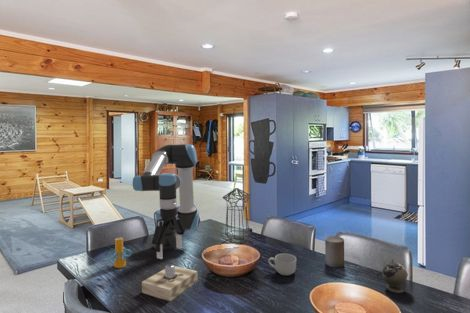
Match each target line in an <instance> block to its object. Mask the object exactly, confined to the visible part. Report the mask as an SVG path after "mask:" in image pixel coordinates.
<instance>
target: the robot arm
mask: <svg viewBox="0 0 470 313" xmlns="http://www.w3.org/2000/svg"><path fill="white" fill-rule="evenodd" d="M197 154H198V153H197V149H196V148H195V145H193V144H188V143H185V144H183V143H182V144H165V145H163V146H161V147H159V148H158V149H156V150H155V151H154V152H153V153H152V155H151V160H150V162H148V165H147V166H146V167H145V169H144V171H143V172H142V174H141V175H139V174H138V175H134V176H133V178H132V189H133V190H134V191H135V192H159V208H160V209H159V210H158V211H157V212H156V214H155V229H154V230H155V231H154V234H153V237H152V239H151V240H152V241H151V244H152V245H153V248H154V250H155V252H156V259H158V260H159V259H160V260H162V259H163V258H164V257H163V252H164V251H165V252H166V251H172V250H175V249H182V248H183V235H185V232H186V231H195V230H196V229H198V226H199V219H200V217H199V216H200V211H198V210H197V207H196V206H195V200H194V199H195V198H194V182H193V179H194V178H193V169H194V168H195V167H196V166H195V165H196V164H197V163H198V156H197ZM166 165H175V169H177V173H172V172H163V173H161V172H162V170H163V168H164V167H165V166H166ZM177 189H178V195H179V207H178V208H177V206H178V205H177V204H178V203H177Z"/></svg>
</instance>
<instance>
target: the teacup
mask: <svg viewBox="0 0 470 313" xmlns="http://www.w3.org/2000/svg"><path fill="white" fill-rule="evenodd" d="M271 261H273V263H274V264H272V262H271ZM267 262H268V264H269V266H270V267H272V268H274V269H275V270H276V272H277V273H279V275H281V276H291V275H293V274H294V273H295V272H296V270H297V257H296V256H295V255H293V254H290V253H278V254H276V255H275V257H272V256H271V257H269V258H268V260H267Z"/></svg>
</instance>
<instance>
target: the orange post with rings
mask: <svg viewBox="0 0 470 313" xmlns="http://www.w3.org/2000/svg"><path fill="white" fill-rule="evenodd" d="M114 245H115V247H114V251H112V250H111V251H109V252H107V255H106V256H107V258H108V259H109V260H113V267H114V268H115V269H119V268H120V269H121V268H124V267H125V266H126V265H127V260H126V258H129V257H130V256H132V250H131V249H128V248H126V247H125V246H124V238H123V237H116V238H114ZM127 251H128V252H129V254H127ZM111 254H113V255H112V257H110V255H111Z"/></svg>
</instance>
